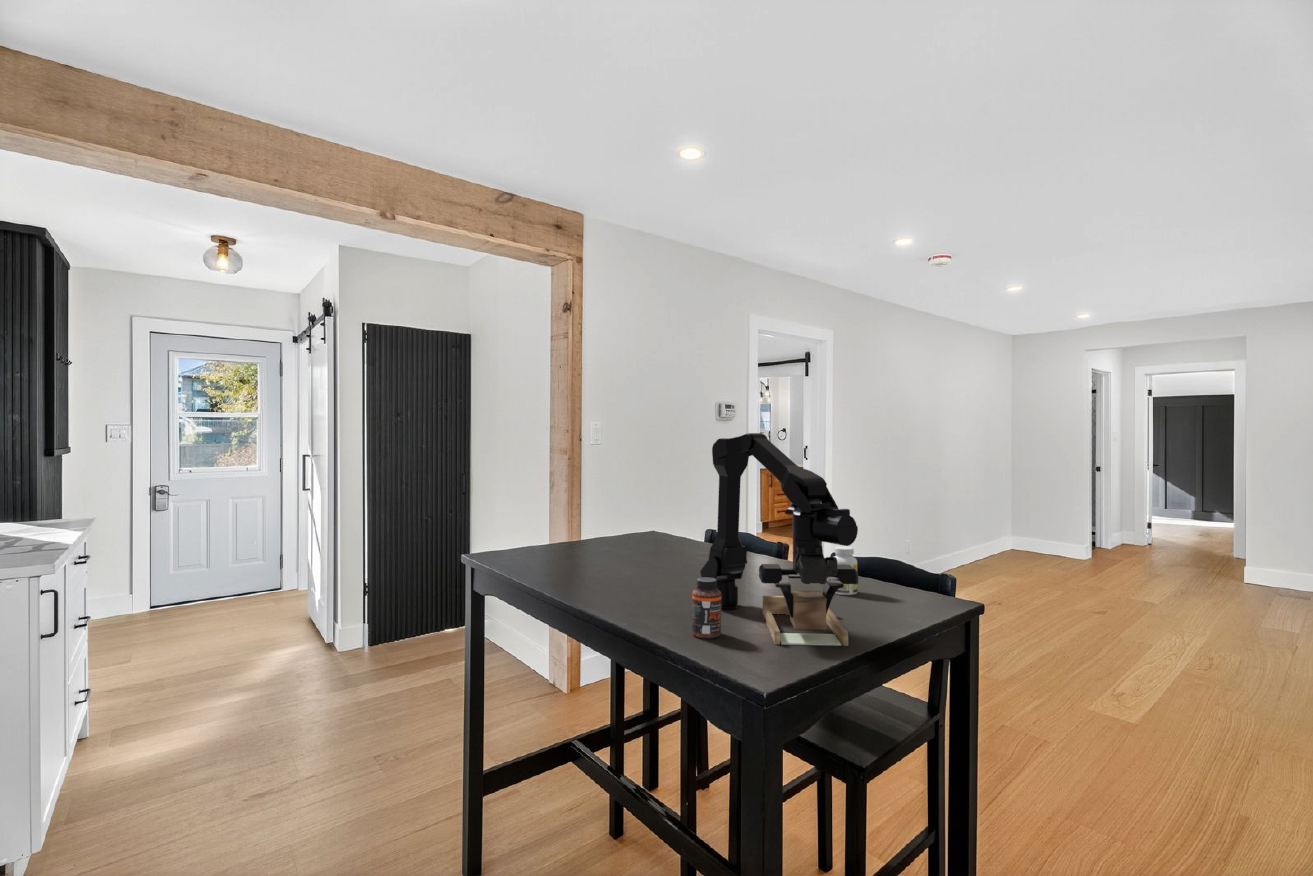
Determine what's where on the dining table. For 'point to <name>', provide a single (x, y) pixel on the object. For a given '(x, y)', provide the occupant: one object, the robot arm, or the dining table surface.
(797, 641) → the front pad
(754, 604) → the dining table surface
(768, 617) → the bay
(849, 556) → the pill bottle
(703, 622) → the supplement bottle
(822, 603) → the crate
